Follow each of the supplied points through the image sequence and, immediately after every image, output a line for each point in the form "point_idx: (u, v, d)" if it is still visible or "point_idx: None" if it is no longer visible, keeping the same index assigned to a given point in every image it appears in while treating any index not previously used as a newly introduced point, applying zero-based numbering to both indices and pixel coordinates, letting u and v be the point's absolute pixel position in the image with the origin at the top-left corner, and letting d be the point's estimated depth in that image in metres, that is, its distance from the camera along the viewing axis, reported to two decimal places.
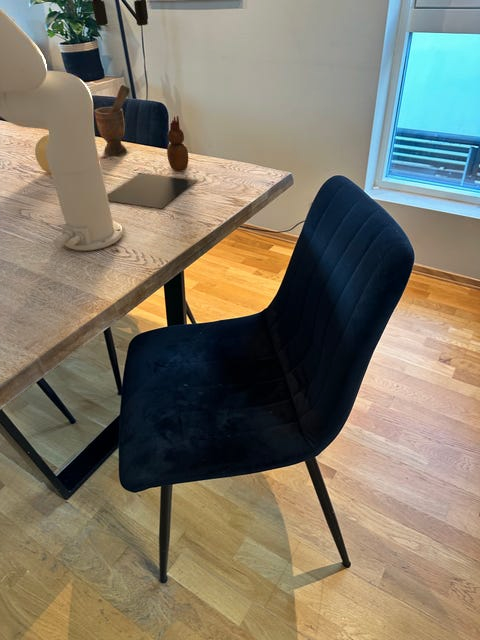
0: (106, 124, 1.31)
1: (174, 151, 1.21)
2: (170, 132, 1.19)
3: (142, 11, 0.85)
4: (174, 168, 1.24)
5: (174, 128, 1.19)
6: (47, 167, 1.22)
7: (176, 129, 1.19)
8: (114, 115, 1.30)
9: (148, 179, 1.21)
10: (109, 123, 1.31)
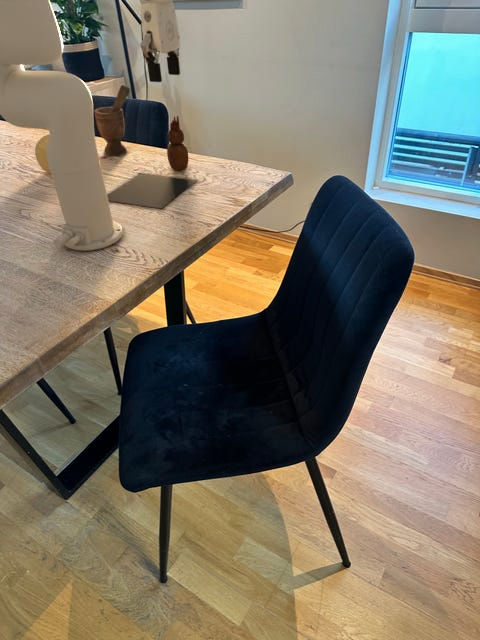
0: (106, 124, 1.31)
1: (174, 151, 1.21)
2: (170, 132, 1.19)
3: None
4: (174, 168, 1.24)
5: (174, 128, 1.19)
6: (47, 167, 1.22)
7: (176, 129, 1.19)
8: (114, 115, 1.30)
9: (148, 179, 1.21)
10: (109, 123, 1.31)
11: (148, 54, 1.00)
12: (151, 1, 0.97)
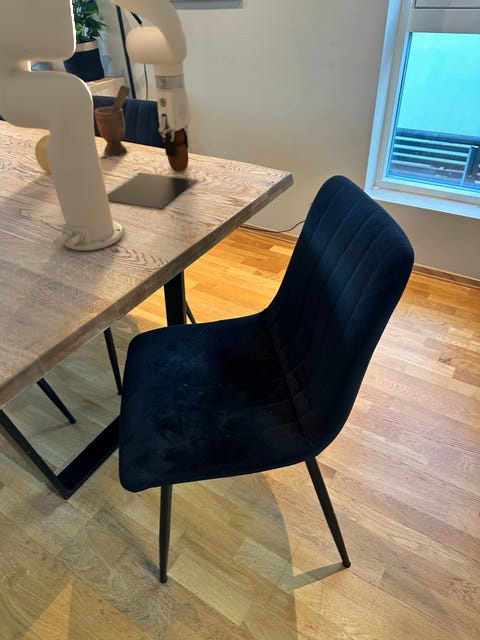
0: (106, 124, 1.31)
1: None
2: (170, 132, 1.19)
3: None
4: (174, 168, 1.24)
5: None
6: (47, 167, 1.22)
7: None
8: (114, 115, 1.30)
9: (148, 179, 1.21)
10: (109, 123, 1.31)
11: (165, 136, 1.15)
12: (166, 89, 1.10)
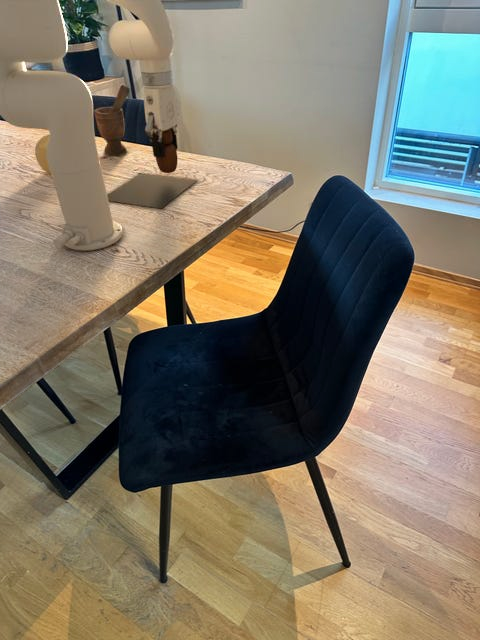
0: (106, 124, 1.31)
1: None
2: None
3: None
4: (162, 170, 1.18)
5: None
6: (47, 167, 1.22)
7: None
8: (114, 115, 1.30)
9: (148, 179, 1.21)
10: (109, 123, 1.31)
11: (152, 136, 1.09)
12: (153, 87, 1.05)
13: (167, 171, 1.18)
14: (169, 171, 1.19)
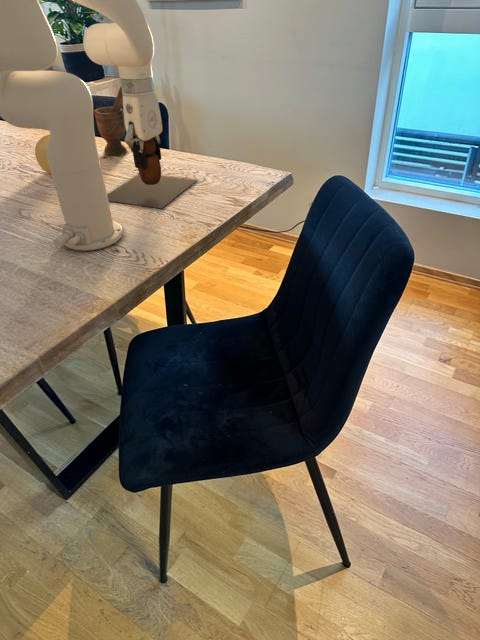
0: (106, 124, 1.31)
1: None
2: None
3: None
4: (145, 181, 1.11)
5: None
6: (47, 167, 1.22)
7: None
8: (114, 115, 1.30)
9: None
10: (109, 123, 1.31)
11: (133, 146, 1.03)
12: (133, 94, 0.98)
13: (150, 183, 1.12)
14: (152, 183, 1.12)
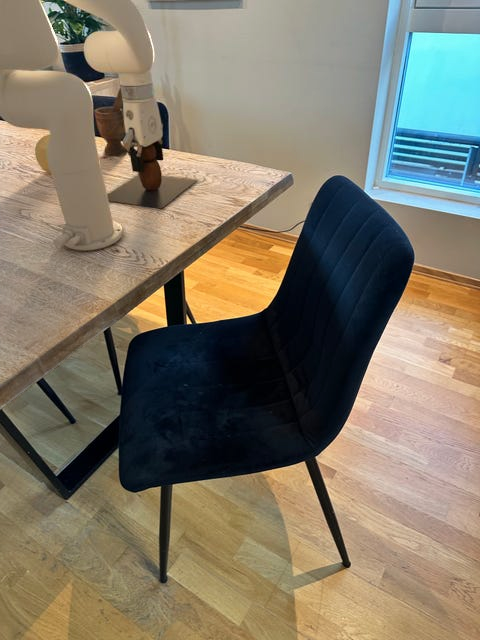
0: (106, 124, 1.31)
1: (145, 169, 1.09)
2: None
3: None
4: (146, 187, 1.12)
5: None
6: (47, 167, 1.22)
7: None
8: (114, 115, 1.30)
9: None
10: (109, 123, 1.31)
11: (130, 150, 1.02)
12: (133, 101, 0.99)
13: (151, 188, 1.12)
14: (153, 188, 1.13)
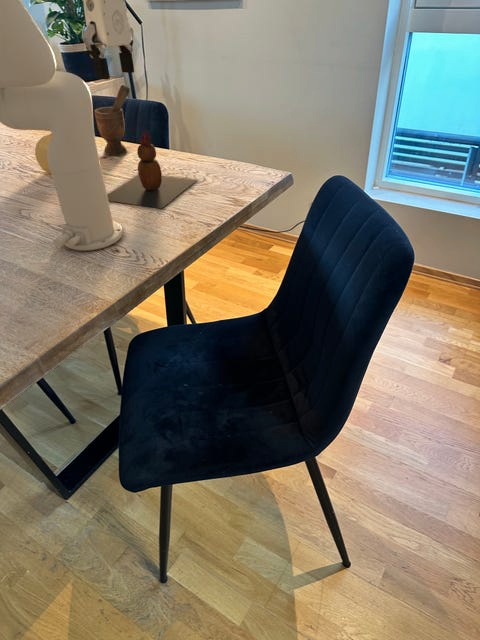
0: (106, 124, 1.31)
1: (145, 169, 1.09)
2: (140, 148, 1.07)
3: None
4: (146, 187, 1.12)
5: (144, 143, 1.08)
6: (47, 167, 1.22)
7: (146, 145, 1.07)
8: (114, 115, 1.30)
9: None
10: (109, 123, 1.31)
11: (91, 48, 0.89)
12: None
13: (151, 188, 1.12)
14: (153, 188, 1.13)
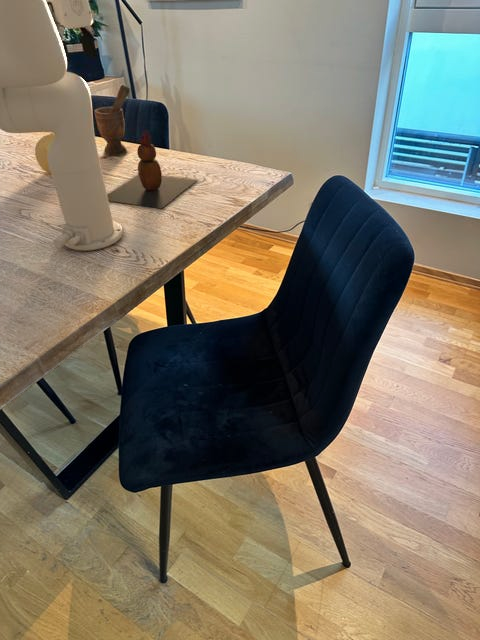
0: (106, 124, 1.31)
1: (145, 169, 1.09)
2: (140, 148, 1.07)
3: None
4: (146, 187, 1.12)
5: (144, 143, 1.08)
6: (47, 167, 1.22)
7: (146, 145, 1.07)
8: (114, 115, 1.30)
9: None
10: (109, 123, 1.31)
11: None
12: None
13: (151, 188, 1.12)
14: (153, 188, 1.13)
